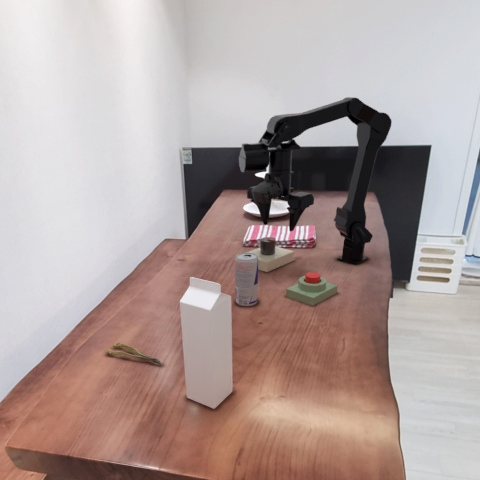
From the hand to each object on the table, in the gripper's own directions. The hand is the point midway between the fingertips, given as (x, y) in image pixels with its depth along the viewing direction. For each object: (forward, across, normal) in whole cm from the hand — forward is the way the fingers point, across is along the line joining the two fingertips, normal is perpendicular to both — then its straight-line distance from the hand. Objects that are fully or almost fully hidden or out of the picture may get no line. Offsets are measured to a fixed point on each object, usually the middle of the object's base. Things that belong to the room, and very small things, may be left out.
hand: (278, 227), depth 127 cm
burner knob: (+9, -6, +2) cm, 11 cm away
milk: (+12, +31, -53) cm, 63 cm away
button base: (+12, +18, -7) cm, 23 cm away
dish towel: (+12, -17, +21) cm, 30 cm away
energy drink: (+12, +9, -22) cm, 26 cm away
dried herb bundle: (+12, +11, -56) cm, 58 cm away
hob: (+12, -6, +2) cm, 13 cm away
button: (+9, +18, -7) cm, 21 cm away
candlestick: (+12, -38, +39) cm, 56 cm away
